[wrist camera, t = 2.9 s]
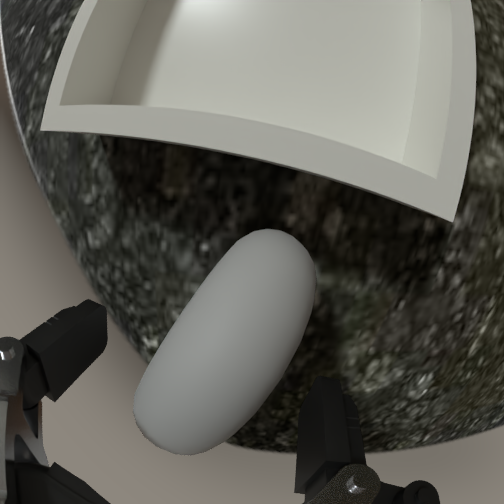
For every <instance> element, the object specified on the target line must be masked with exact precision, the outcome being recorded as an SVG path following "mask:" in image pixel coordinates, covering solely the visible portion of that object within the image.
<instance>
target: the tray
mask: <svg viewBox="0 0 504 504" xmlns="http://www.w3.org/2000/svg"><path fill="white" fill-rule="evenodd" d="M475 93H476V46H475V32H474V22H473V13H472V6H471V0H84V2H83V4H82V6H81V8H80V10H79V12H78V14H77V16H76V18H75V20H74V23H73V25H72V27H71V30H70V32H69V34H68V37H67V39H66V42H65V44H64V47H63V50H62V52H61V55H60V58H59V61H58V64H57V67H56V70H55V73H54V76H53V80H52V83H51V87H50V90H49V94H48V98H47V102H46V106H45V110H44V115H43V120H42V125H41V131H59V132H72V133H83V134H94V135H104V136H114V137H124V138H132V139H141V140H148V141H156V142H163V143H169V144H176V145H182V146H188V147H193V148H199V149H205V150H210V151H215V152H220V153H225V154H230V155H235V156H239V157H244V158H248V159H253V160H257V161H261V162H266V163H270V164H274V165H278V166H282V167H286V168H289V169H293V170H297V171H301V172H304V173H308V174H311V175H315V176H318V177H322V178H325V179H329V180H332V181H335V182H339V183H342V184H345V185H348V186H351V187H354V188H357V189H360V190H363V191H366V192H369V193H372V194H375V195H378V196H381V197H384V198H387V199H389V200H392V201H395V202H398V203H400V204H403V205H406V206H409V207H412V208H414V209H417V210H420V211H423V212H426V213H429V214H431V215H434V216H437V217H440V218H442V219H445V220H448V221H450V222H453V220H454V217H455V213H456V210H457V206H458V202H459V198H460V194H461V190H462V186H463V181H464V177H465V172H466V167H467V161H468V156H469V150H470V143H471V136H472V128H473V119H474V109H475Z"/></svg>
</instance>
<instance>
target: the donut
mask: <svg viewBox="0 0 504 504" xmlns="http://www.w3.org/2000/svg"><path fill="white" fill-rule="evenodd" d="M316 279H317V278H316V271H315V265H314V262H313V261H312V259H311V257H310V255H309V253H308V251H307V250H306V249H305V247H304V246H303V245H302V244H301V243H300V242H299V241H298V240H297V239H295V238H294V237H293V236H292V235H289V234H287V233H285V232H283V231H281V230H273V229H263V230H258V231H253V232H252V233H250V234H248V235H246V236H244V237H243V238H241V239H240V240H238V241H237V242H236V243H235V244H234V245H233V246H232V247H231V249H230V250H229V251H228V252H227V253H226V254H225V255H224V257H223V258H222V259H221V260H220V261H219V262H218V264H217V265H216V266H215V267H214V269H213V270H212V271H211V273H210V274H209V275H208V277H207V278H206V279H205V280H204V282H203V283H202V284H201V286H200V287H199V289H198V290H197V291H196V293H195V294H194V296H193V297H192V299H191V300H190V301H189V303H188V304H187V306H186V307H185V309H184V310H183V311H182V313H181V314H180V316H179V317H178V319H177V320H176V322H175V323H174V325H173V327H172V328H171V330H170V331H169V333H168V334H167V336H166V337H165V339H164V340H163V342H162V344H161V345H160V347H159V349H158V350H157V352H156V354H155V355H154V357H153V359H152V360H151V362H150V364H149V366H148V367H147V369H146V371H145V373H144V375H143V377H142V380H141V382H140V384H139V386H138V388H137V390H136V392H135V395H134V409H133V413H134V416H135V420H136V424H137V426H138V428H139V429H140V431H141V432H142V434H143V435H144V437H146V438H147V439H148V440H149V441H151V442H152V443H153V444H154V445H155V446H157V447H159V448H161V449H164V450H166V451H169V452H171V453H174V454H180V455H195V454H199V453H202V452H206V451H208V450H210V449H212V448H213V447H215V446H217V445H219V444H221V443H223V442H224V441H226V440H227V439H228V438H230V437H231V436H232V435H234V434H235V433H236V432H237V431H238V430H239V429H240V428H241V427H242V426H243V425H244V424H245V423H246V422H247V421H248V420H249V419H250V418H251V417H252V416H253V415H254V414H255V413H256V412H257V411H258V410H259V408H260V407H261V406H262V404H263V403H264V402H265V400H266V399H267V397H268V396H269V395H270V393H271V392H272V391H273V389H274V388H275V386H276V385H277V384H278V382H279V381H280V379H281V378H282V376H283V374H284V372H285V371H286V369H287V367H288V365H289V363H290V361H291V359H292V358H293V356H294V354H295V352H296V350H297V348H298V346H299V344H300V342H301V340H302V337H303V334H304V332H305V329H306V326H307V323H308V321H309V318H310V315H311V312H312V307H313V303H314V297H315V288H316Z"/></svg>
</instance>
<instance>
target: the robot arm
mask: <svg viewBox="0 0 504 504" xmlns="http://www.w3.org/2000/svg"><path fill="white" fill-rule="evenodd" d="M107 339H108V337H107V310H106V308H105V306H103V305H101V304H98V303H96V302H94V301H91V300H89V299H88V300H85V301H83V302H82V303H81V304H79V305H78V306H76V307H75V306H73V307H70V308H66V309H63V310H61V311H60V312H58V313H57V314H56V315H54V317H51V318H50V319H48V320H47V322H44V323H43V324H41V325H40V326H38V327H37V328H36V329H34V330H33V331H31V332H30V333H29V334H27V335H26V336H25V337H23V338H22V339H20V340H18V339H16V338H13V337H2V338H0V504H110V503H109V502H108V501H106V500H105V499H104V498H103V497H102V496H100V495H99V494H98V493H97V492H96V491H94V490H93V489H92V488H91V487H90V486H89V485H88V484H87V483H86V482H84V481H83V480H81V479H79V478H78V477H76V476H75V475H73V474H72V473H70V472H69V471H67V470H65V469H64V468H62V467H61V466H60V465H58V464H57V463H55V462H54V463H53V465H52V466H51V467H49V464H48V460H47V456H46V454H45V451H44V447H43V439H42V438H43V437H42V401H41V399H42V398H43V397H44V396H47V397H48V398H49V399H51V400H52V401H54V402H56V400H57V399H58V398H59V397H60V396H61V395H62V394H63V393H64V392H65V391H66V390H67V389H68V388H69V387H70V386H71V385H72V384H73V382H74V381H75V380H76V379H77V378H78V377H79V376H80V375H81V374H82V373H83V372H84V371H85V370H86V369H87V368H88V367H89V366H90V365H91V364H92V363H93V362H94V361H95V360H96V358H98V357H99V356H100V355H101V353H103V351H104V349H105V347H106V345H107ZM358 418H359V417H358V412H357V407H356V405H355V403H354V402H353V400H352V399H351V397H350V396H349V395H344V394H342V390H341V383H340V380H339V379H334V378H329V377H324V376H318V377H317V378H316V380H315V381H314V383H313V385H312V387H311V389H310V391H309V393H308V395H307V396H306V398H305V400H304V402H303V404H302V406H301V409H300V412H299V418H298V441H297V460H296V477H295V491H294V493H300V494H305V502H304V503H303V504H440V501H439V495H438V492H437V490H436V489H435V487H434V486H433V485H432V484H430V483H428V482H426V481H422V480H418V481H414V482H412V483H410V484H409V485H408V486H406V487H405V488H403V487H399V486H395V485H391V484H387V483H383V482H381V481H380V479H379V477H378V475H377V473H376V472H375V471H374V470H373V469H371V468H370V467H368V466H367V465H366V459H365V452H364V446H363V440H362V434H361V430H360V423H359V420H358Z"/></svg>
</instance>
